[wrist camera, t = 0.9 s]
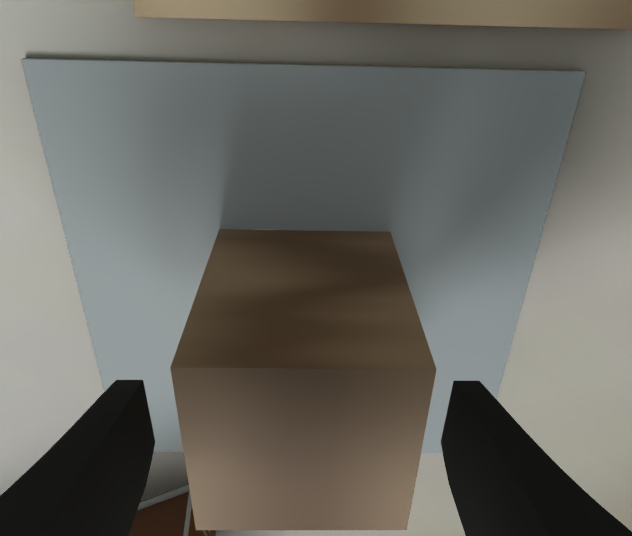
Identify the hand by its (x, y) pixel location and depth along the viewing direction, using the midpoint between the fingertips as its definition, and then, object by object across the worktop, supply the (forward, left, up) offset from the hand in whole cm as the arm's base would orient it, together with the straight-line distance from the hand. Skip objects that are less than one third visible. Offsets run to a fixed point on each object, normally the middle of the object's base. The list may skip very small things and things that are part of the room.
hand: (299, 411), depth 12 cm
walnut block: (0, 0, -5) cm, 5 cm away
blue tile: (0, 0, -5) cm, 5 cm away
